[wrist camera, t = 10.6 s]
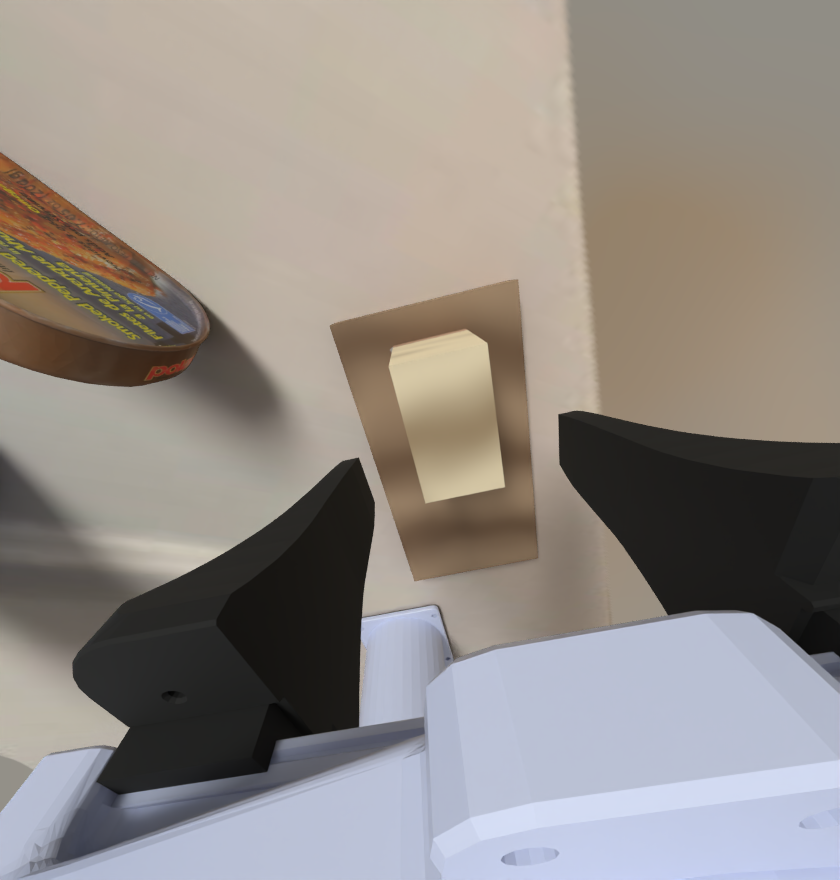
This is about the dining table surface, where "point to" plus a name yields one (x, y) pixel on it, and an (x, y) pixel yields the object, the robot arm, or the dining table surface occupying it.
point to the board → (367, 370)
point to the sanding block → (449, 413)
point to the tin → (85, 295)
